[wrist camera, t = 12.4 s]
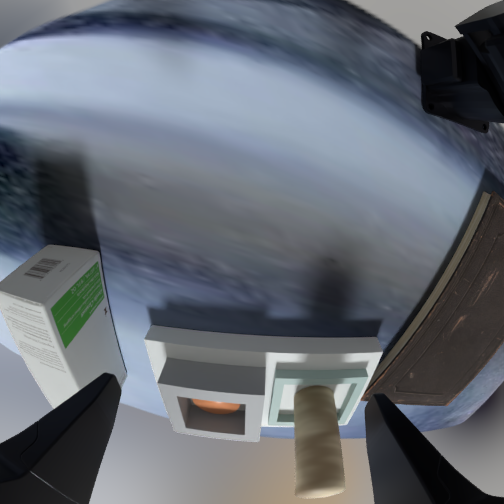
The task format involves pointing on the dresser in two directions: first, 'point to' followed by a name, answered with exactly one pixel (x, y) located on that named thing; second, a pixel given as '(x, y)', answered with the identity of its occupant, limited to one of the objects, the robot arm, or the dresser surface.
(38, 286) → the skincare box
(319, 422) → the beige cylindrical rod
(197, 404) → the button
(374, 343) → the panel
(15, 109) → the dresser surface
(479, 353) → the hardcover book
